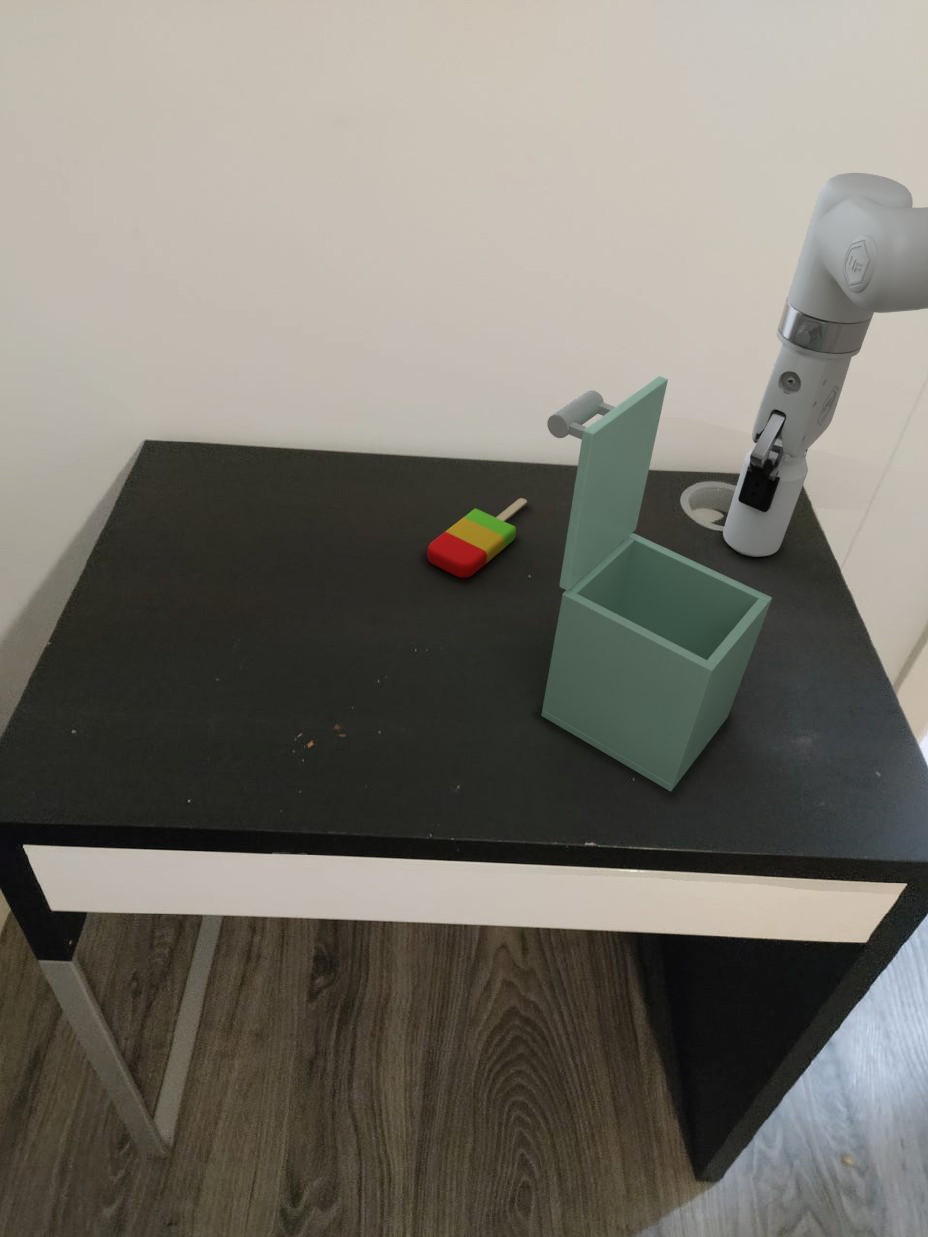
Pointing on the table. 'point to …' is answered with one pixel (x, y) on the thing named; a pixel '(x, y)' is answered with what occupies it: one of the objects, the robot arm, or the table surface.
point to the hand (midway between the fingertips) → (767, 490)
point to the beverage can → (767, 529)
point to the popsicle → (473, 541)
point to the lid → (607, 472)
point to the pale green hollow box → (651, 657)
